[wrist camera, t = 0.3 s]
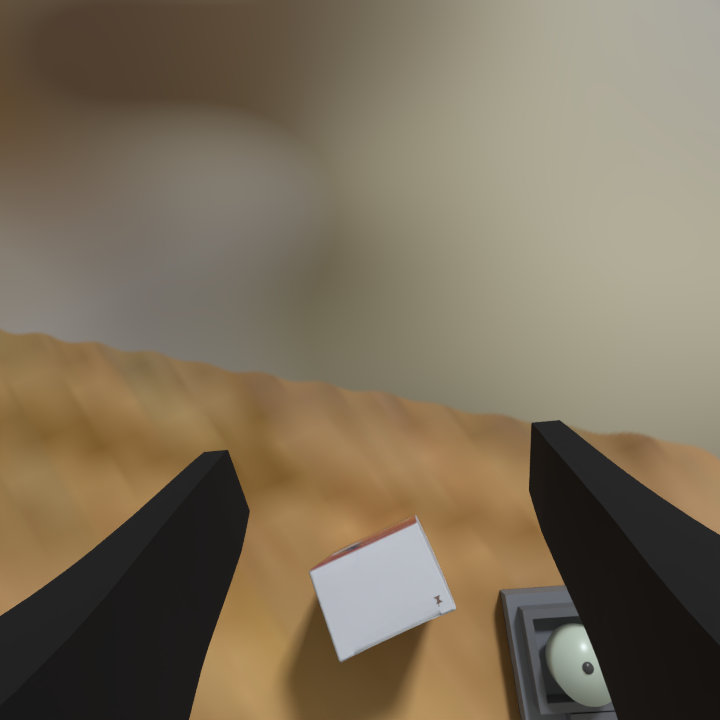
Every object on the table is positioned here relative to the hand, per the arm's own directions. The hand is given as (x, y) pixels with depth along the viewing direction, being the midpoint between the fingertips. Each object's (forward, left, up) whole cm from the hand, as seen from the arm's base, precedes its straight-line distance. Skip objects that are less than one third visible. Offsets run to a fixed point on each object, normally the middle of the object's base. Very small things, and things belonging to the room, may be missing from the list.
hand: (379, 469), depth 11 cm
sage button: (-12, -11, -26) cm, 31 cm away
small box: (-6, +2, -30) cm, 31 cm away
